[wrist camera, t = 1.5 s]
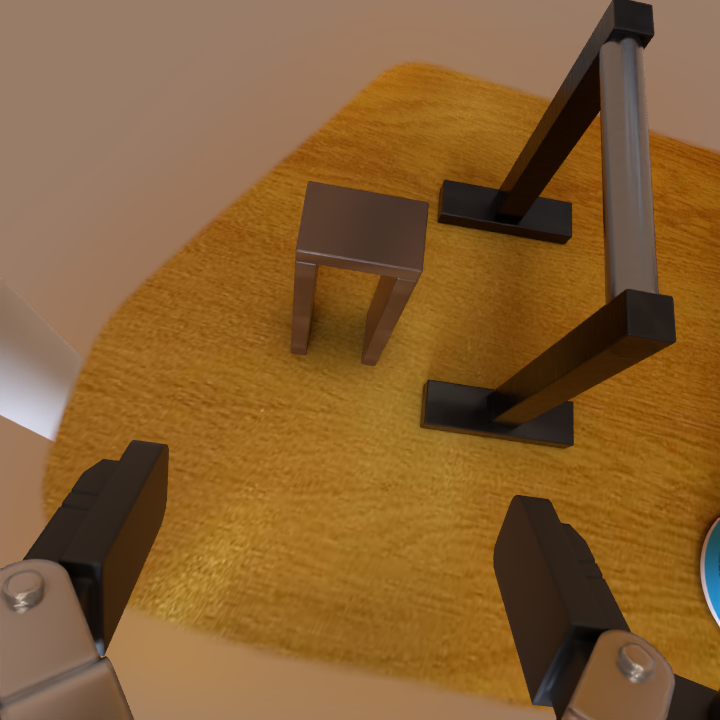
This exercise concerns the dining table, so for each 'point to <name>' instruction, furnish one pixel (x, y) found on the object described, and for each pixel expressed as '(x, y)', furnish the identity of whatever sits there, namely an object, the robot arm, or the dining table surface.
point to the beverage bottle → (712, 569)
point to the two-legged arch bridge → (359, 255)
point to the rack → (554, 224)
